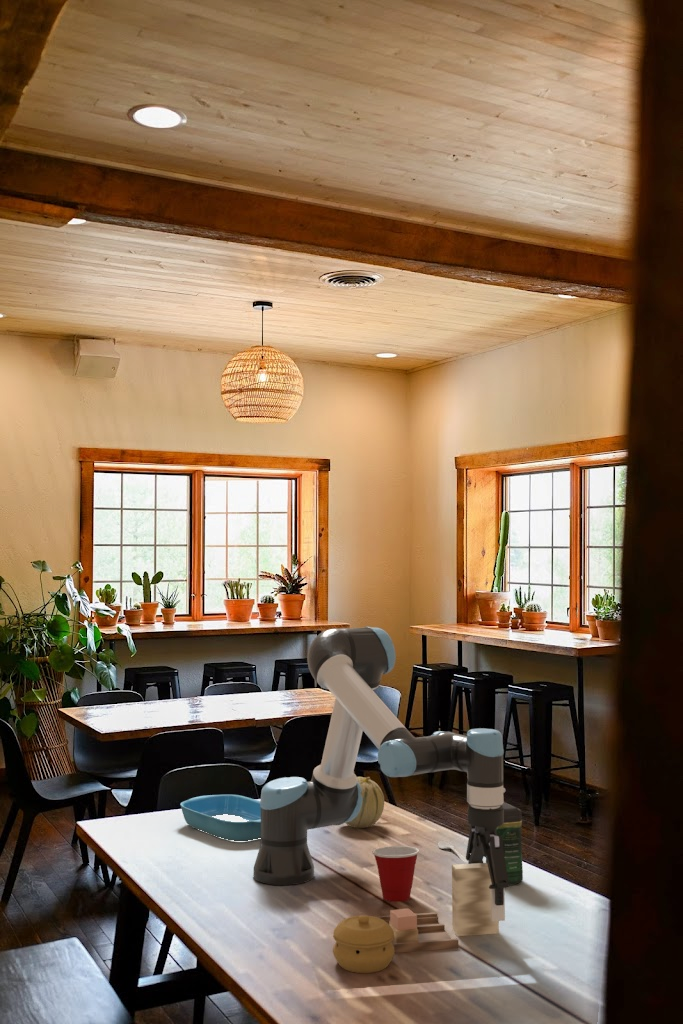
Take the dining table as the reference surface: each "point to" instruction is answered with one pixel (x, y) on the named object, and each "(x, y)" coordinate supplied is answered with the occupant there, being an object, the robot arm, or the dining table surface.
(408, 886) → the plastic cup
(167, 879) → the dining table surface
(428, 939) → the rack
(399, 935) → the offcut oak
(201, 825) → the casserole dish
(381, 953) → the pot
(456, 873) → the birch block
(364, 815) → the cantaloupe
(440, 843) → the spoon
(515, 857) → the coffee jar
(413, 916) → the offcut terracotta
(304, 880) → the robot arm
